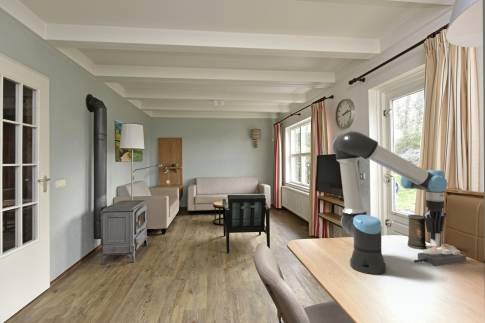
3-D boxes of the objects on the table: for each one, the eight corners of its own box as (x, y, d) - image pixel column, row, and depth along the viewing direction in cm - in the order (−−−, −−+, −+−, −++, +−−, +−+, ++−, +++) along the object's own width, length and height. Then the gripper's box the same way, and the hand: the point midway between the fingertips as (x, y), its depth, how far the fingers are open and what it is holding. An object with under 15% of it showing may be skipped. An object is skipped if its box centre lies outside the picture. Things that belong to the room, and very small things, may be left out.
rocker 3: (453, 256, 123) (455, 250, 122) (440, 248, 129) (442, 243, 129) (459, 255, 124) (460, 250, 123) (445, 248, 130) (447, 242, 130)
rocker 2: (445, 256, 121) (445, 249, 121) (432, 251, 127) (432, 245, 128) (451, 255, 122) (451, 249, 122) (437, 251, 128) (437, 245, 128)
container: (404, 245, 147) (403, 215, 147) (413, 243, 151) (413, 213, 151) (420, 250, 139) (420, 218, 139) (430, 248, 143) (429, 216, 143)
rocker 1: (437, 256, 119) (435, 249, 120) (424, 254, 125) (422, 248, 126) (442, 255, 120) (440, 248, 121) (429, 254, 126) (428, 247, 127)
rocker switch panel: (424, 267, 116) (424, 260, 116) (406, 260, 125) (406, 254, 125) (466, 261, 123) (466, 255, 123) (447, 255, 132) (447, 249, 132)
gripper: (432, 202, 122) (432, 249, 123) (452, 200, 126) (451, 246, 127) (418, 199, 130) (417, 244, 130) (437, 198, 133) (436, 241, 134)
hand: (434, 245), depth 128 cm, fingers closed
